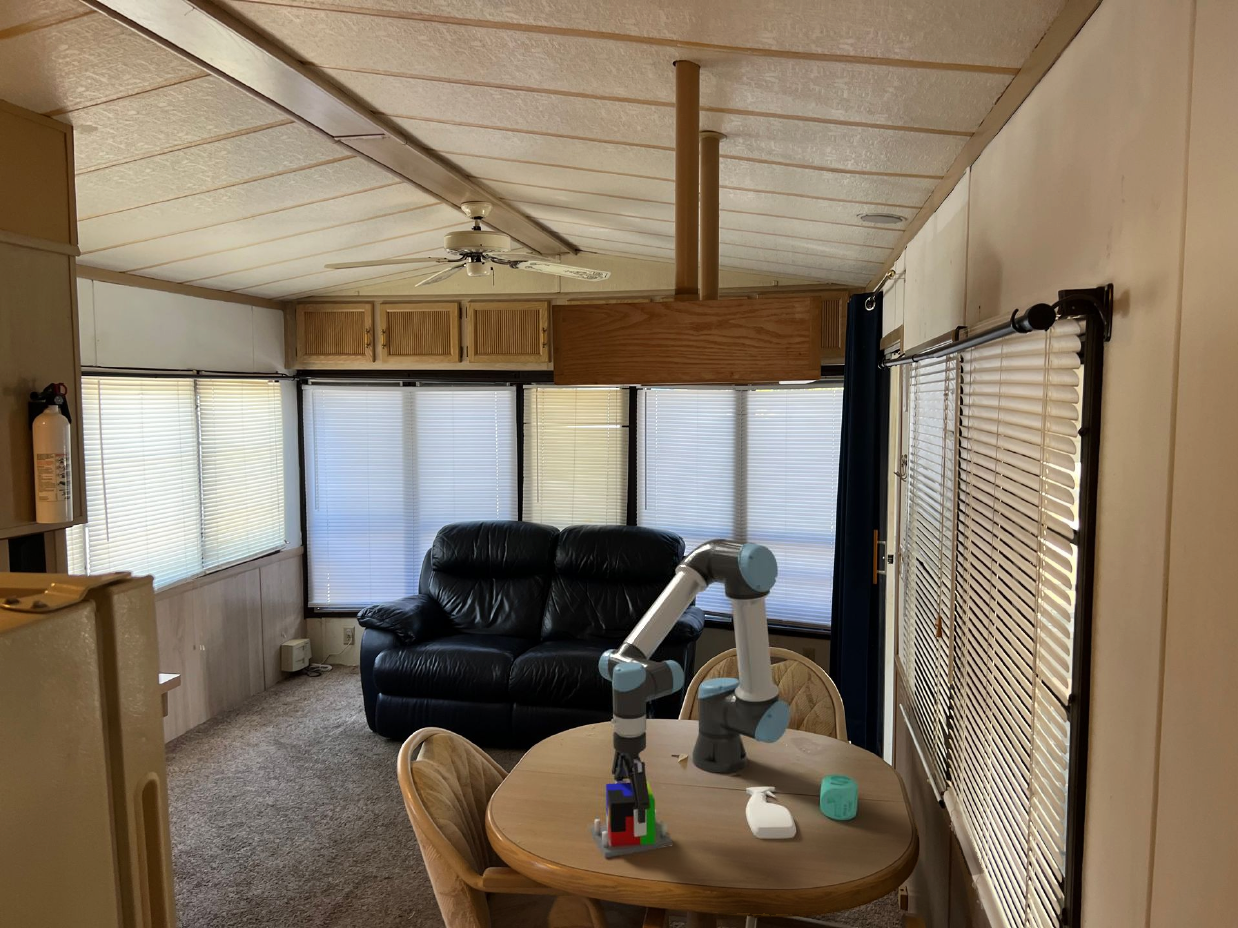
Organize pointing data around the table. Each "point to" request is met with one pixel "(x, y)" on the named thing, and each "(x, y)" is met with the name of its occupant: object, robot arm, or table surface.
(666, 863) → the table surface
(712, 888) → the table surface
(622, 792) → the puzzle toy
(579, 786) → the table surface
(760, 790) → the spray bottle
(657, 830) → the pin tray
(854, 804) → the decorative dice
